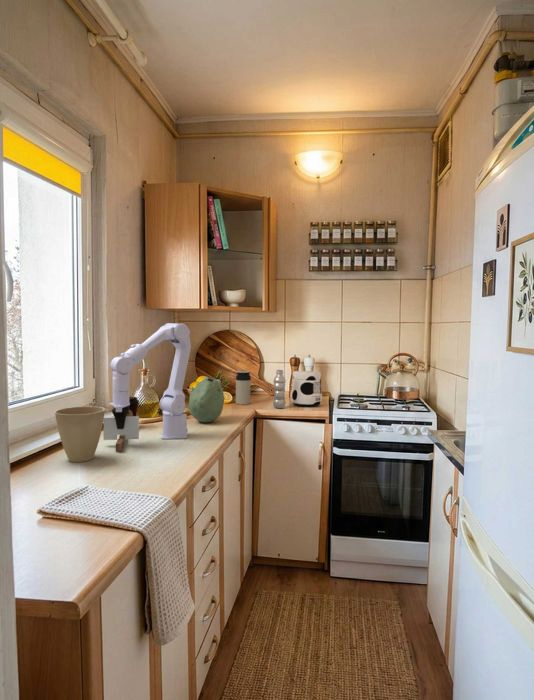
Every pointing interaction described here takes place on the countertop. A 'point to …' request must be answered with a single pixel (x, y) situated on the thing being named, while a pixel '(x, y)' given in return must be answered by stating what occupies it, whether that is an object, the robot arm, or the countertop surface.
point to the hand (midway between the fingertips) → (120, 428)
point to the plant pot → (80, 431)
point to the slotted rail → (120, 443)
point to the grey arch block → (129, 429)
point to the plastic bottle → (279, 390)
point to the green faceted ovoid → (206, 400)
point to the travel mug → (243, 387)
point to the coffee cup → (133, 406)
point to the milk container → (306, 388)
